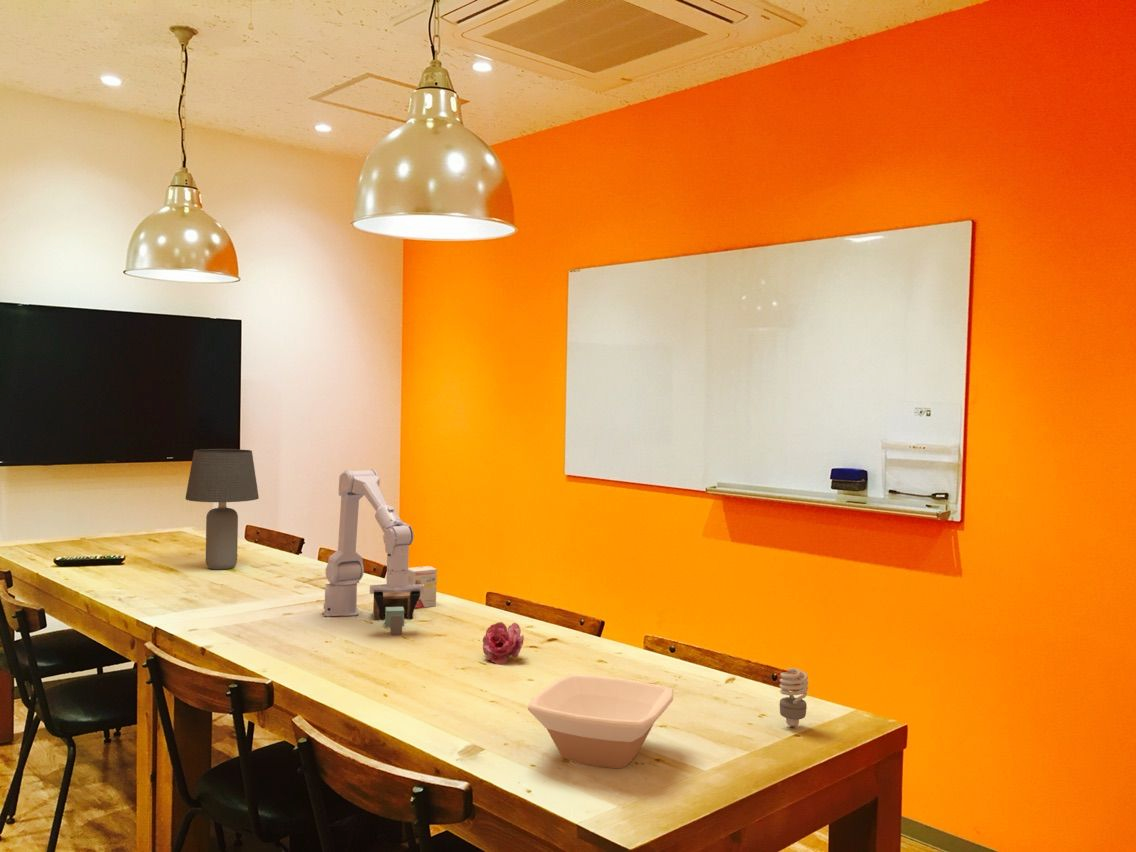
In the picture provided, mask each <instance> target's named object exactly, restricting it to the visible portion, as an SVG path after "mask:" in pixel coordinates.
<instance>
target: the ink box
mask: <svg viewBox="0 0 1136 852" xmlns="http://www.w3.org/2000/svg"><path fill="white" fill-rule="evenodd" d="M437 571H438V570H437V568H435V567H433V566H430V565H426V566H416V567H415V566H413V567H408V584H424V593H420V597H419V600H418V601H417V604H416V606H415V609H414V610H417V609H421V608H424V609H425V608H431V607H436V606H437V575H438V574H437Z"/></svg>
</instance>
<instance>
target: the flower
mask: <svg viewBox="0 0 1136 852" xmlns="http://www.w3.org/2000/svg"><path fill="white" fill-rule="evenodd" d="M521 632H522V631H521V628H520V625H519V624H518V623H517V622H512V623H511V625H509V626H508V627H507V625H506V624H505V623H503V622H502V621H500V622H495V623H493V624H491V625H489V627H488V628H487V629H486V630H485V635H483V638H482V642H483V643H482V651H483V654H484V655H485V658H486V660H487V661H491V662H492V663H495V664H496V665H503V664H506V663H507V662H508V660H509V658H510V657H511V656H512V657H513V658H518V656H519V654H520V652H521V649H522V647H523V645H524V639H525V638H524V637H525V635H524V634H523V635H521V634H522V633H521Z"/></svg>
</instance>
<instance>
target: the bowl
mask: <svg viewBox="0 0 1136 852" xmlns="http://www.w3.org/2000/svg"><path fill="white" fill-rule="evenodd" d="M673 700H674V689H673V688H671V687H668V686H663V685H661V684H660V685H659V684H654V683H650V682H646V681H645V682H644V681H637V680H633V679H632V680H631V679H626V678H620V677H609V676H601V675H600V676H599V675H593V674H590V675H589V674H578V673H577V674H575V673H574V674H572V673H571V674H567V675H565V676H562V677H560V678H558V679H555V680H554V681H553V682H551V683H550V684H548V685H547V686H546V687H544V688H543V689H541V690H540V691H539V692H538V693H537V694H535V695H534V696H533V697H532V698H531V699H530V702H529V703H528V706H527V711H529V713H530V714H531V715H532V716H533V717H534V718H535V719H536V720H537V721H538V722H539V723H540V724H541V725H542V726H543V727H544V728H545V729H546V730H547V732H548V734H549V736H550V737H551V739H552V741H553V743H554V745H555V746H556V748H557V751H558V752H559V754H560V756H561V758H562V759H565V760H567V761H571V762H574V763H578V764H582V765H587V766H594V767H599V768H606V769H607V768H608V769H609V768H610V769H623V768H624V767H626V766H628V765H629V764H630V763H631V762H632V761H633V760H634V758H635V757H636V756H637V755H638V753H640V750H641V749H642V747H643V745H644V743H645V741H646V739H647V737H648V735H649V734H650V732H651V729H653V726H654V724H655V723H656V721H657V720H659V718H660V717H661V716H662V714H664V712H665V711H666V710H667V709H668V707H669V706H670V704H671V703H672V702H673Z"/></svg>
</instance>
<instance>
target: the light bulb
mask: <svg viewBox="0 0 1136 852" xmlns="http://www.w3.org/2000/svg"><path fill="white" fill-rule="evenodd" d="M787 671H788V672H781V673H780V677H781V678H780V679H779V682H780V684H779V692H780V694H782V695H785V696H786V697H782V698H781V699H780V700H779V703H778V704H779V714H780V716H782V717H783V718H785V723H786V724H787V725H788V726H789V727H791V728H795V727H797V726H798V725H799V724H800V720H802V719H804V718H805V717H806V715H807V709H808V707H807V702H806V701H805V700H804V698H806V697H807V695H808V690H809V687H808V685H809V681H808V678H809V676H808V674H807V673H806V672H804V671H803V670H801V669H799V668H794V667H788V668H787ZM795 696H798V697H795Z"/></svg>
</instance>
